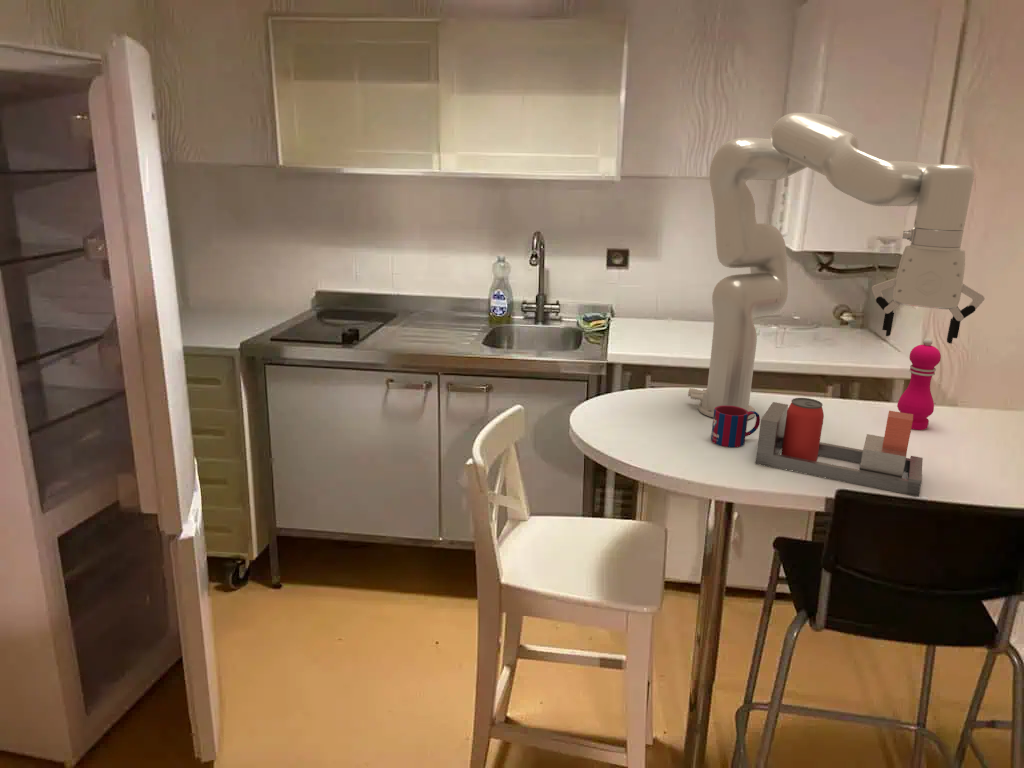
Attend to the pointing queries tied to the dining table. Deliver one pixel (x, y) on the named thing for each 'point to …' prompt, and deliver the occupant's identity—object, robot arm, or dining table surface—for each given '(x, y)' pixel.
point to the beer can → (803, 429)
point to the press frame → (773, 442)
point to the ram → (888, 446)
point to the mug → (731, 426)
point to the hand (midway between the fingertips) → (918, 338)
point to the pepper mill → (920, 385)
